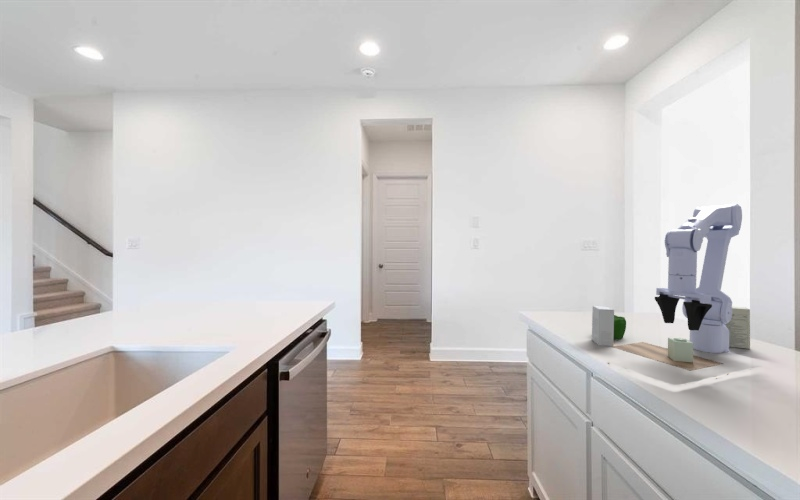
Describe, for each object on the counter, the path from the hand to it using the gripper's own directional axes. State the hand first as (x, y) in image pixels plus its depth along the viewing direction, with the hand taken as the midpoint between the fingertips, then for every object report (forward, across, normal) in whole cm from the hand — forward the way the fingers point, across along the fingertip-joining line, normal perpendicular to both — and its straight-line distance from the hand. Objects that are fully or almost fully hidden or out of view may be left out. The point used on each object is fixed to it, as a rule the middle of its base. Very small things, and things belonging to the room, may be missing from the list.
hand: (680, 326), depth 89 cm
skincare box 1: (+10, -15, -11) cm, 21 cm away
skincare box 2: (+10, -16, +31) cm, 36 cm away
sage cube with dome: (+9, 0, 0) cm, 9 cm away
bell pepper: (+10, -22, -4) cm, 24 cm away
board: (+10, -4, -1) cm, 11 cm away
